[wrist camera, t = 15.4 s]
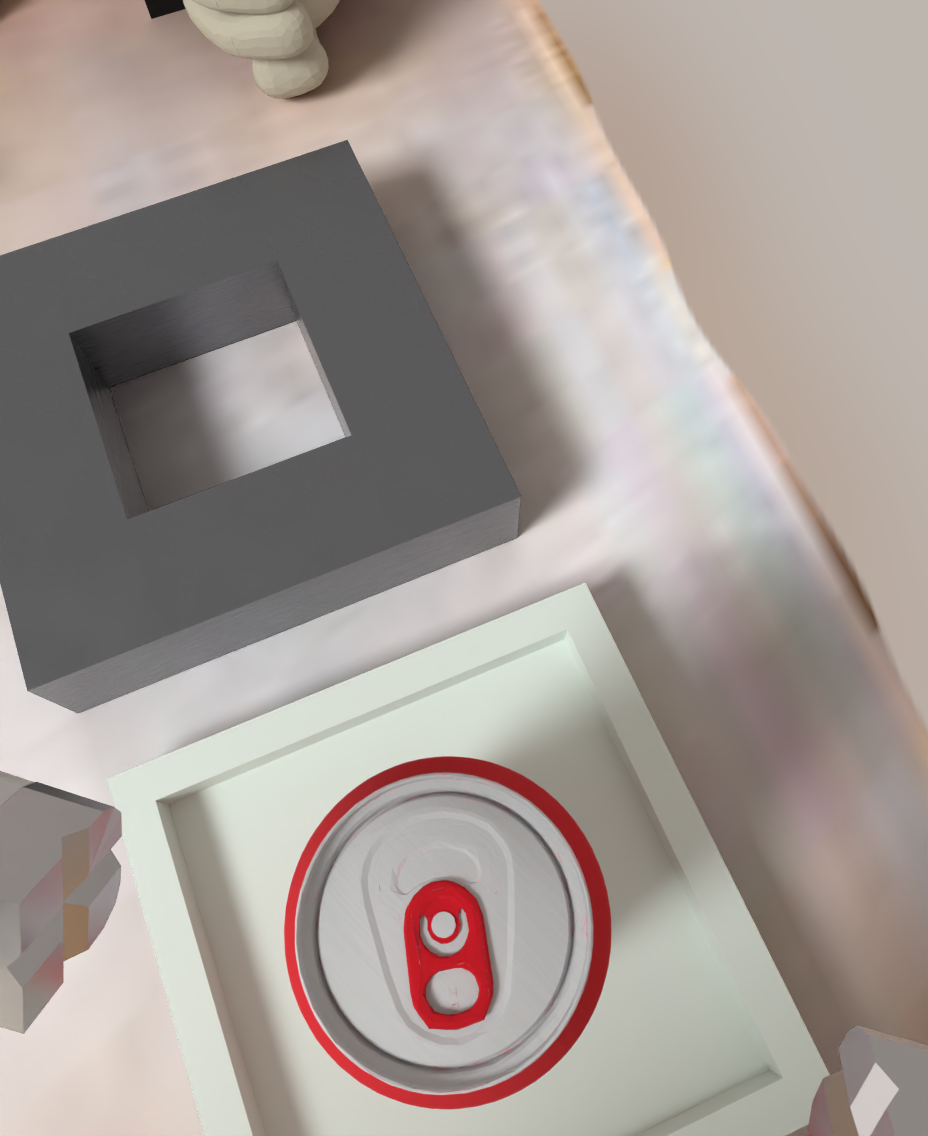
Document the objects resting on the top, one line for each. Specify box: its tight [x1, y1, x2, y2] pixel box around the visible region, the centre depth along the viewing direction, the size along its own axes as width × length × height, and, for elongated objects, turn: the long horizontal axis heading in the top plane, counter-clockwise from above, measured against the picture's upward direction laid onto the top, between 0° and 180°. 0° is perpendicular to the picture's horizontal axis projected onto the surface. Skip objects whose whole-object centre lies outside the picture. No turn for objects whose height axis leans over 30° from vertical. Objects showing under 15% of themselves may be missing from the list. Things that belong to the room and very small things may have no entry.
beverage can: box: [284, 756, 611, 1109], centre depth 21 cm, size 6×6×12 cm
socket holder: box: [0, 140, 521, 713], centre depth 32 cm, size 16×16×4 cm
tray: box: [107, 583, 830, 1136], centre depth 26 cm, size 16×16×2 cm
